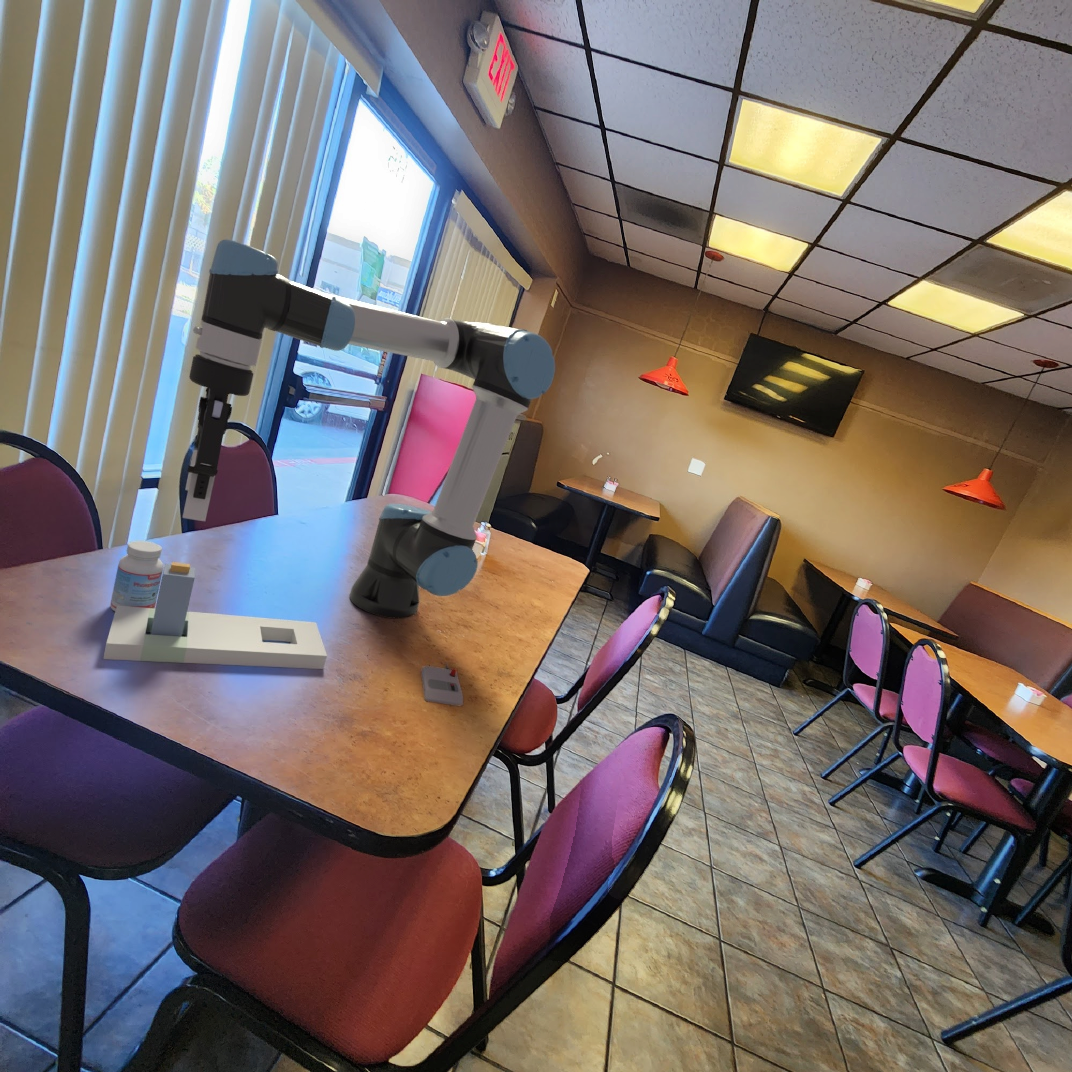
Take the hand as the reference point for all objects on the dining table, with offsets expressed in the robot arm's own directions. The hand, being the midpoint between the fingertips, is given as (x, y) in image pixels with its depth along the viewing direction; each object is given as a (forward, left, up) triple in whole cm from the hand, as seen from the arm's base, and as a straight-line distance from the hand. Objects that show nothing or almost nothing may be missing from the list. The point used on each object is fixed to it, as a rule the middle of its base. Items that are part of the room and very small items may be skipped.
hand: (194, 504), depth 85 cm
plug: (0, 0, -23) cm, 23 cm away
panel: (-8, 0, -23) cm, 24 cm away
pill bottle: (+5, -10, -23) cm, 25 cm away
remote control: (-43, +10, -23) cm, 50 cm away
